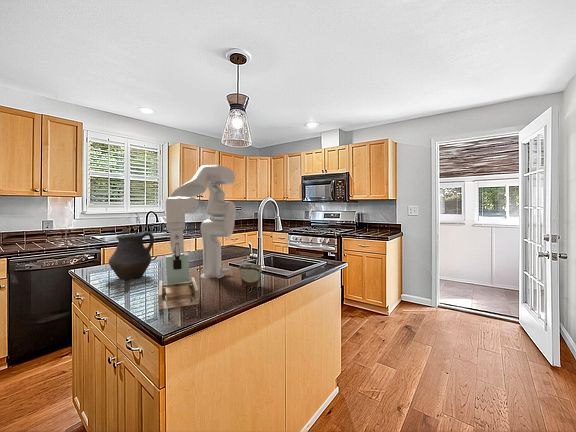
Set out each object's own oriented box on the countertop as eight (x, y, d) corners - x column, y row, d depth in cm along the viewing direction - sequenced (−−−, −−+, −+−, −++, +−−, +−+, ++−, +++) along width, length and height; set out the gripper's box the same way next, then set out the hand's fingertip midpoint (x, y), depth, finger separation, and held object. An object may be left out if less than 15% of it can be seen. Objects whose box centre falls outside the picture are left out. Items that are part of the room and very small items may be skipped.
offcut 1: (188, 289, 119) (188, 285, 119) (190, 294, 113) (190, 290, 113) (165, 292, 115) (165, 288, 115) (166, 297, 109) (166, 293, 109)
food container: (266, 285, 140) (266, 265, 139) (260, 288, 134) (260, 268, 134) (245, 282, 145) (245, 262, 145) (239, 285, 140) (238, 265, 139)
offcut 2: (190, 292, 120) (190, 288, 120) (191, 297, 113) (191, 294, 113) (167, 295, 116) (167, 291, 116) (166, 300, 110) (166, 296, 110)
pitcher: (110, 275, 158) (108, 231, 156) (153, 270, 168) (152, 229, 167) (108, 285, 140) (106, 235, 138) (156, 279, 150) (155, 232, 149)
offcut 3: (188, 296, 120) (188, 292, 119) (190, 301, 113) (190, 297, 113) (165, 299, 116) (165, 295, 115) (166, 305, 109) (166, 301, 109)
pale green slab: (189, 280, 126) (187, 253, 125) (189, 281, 124) (188, 254, 123) (167, 283, 123) (165, 255, 122) (167, 284, 120) (165, 257, 119)
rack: (194, 292, 130) (193, 277, 129) (199, 307, 111) (198, 290, 111) (159, 296, 124) (159, 280, 123) (159, 313, 106) (158, 295, 105)
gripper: (186, 227, 115) (187, 271, 117) (184, 224, 130) (185, 263, 131) (166, 228, 112) (168, 274, 114) (166, 224, 127) (167, 265, 128)
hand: (177, 267), depth 123 cm, fingers closed on pale green slab, 2 cm apart
